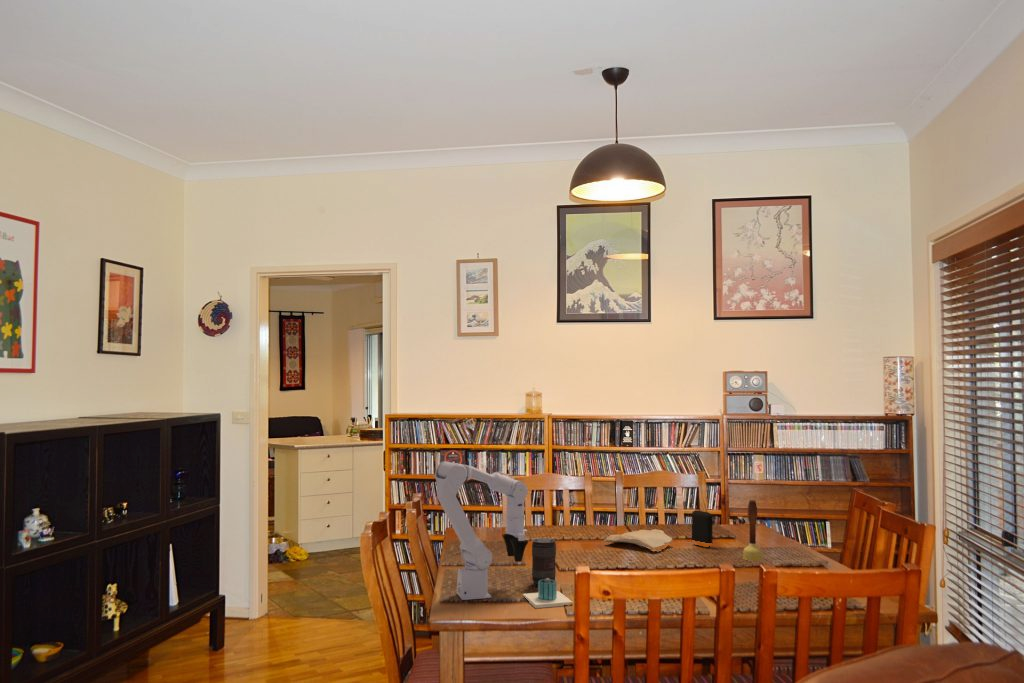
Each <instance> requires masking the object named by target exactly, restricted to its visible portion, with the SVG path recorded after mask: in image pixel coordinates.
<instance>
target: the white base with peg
mask: <svg viewBox="0 0 1024 683" xmlns="http://www.w3.org/2000/svg"><path fill="white" fill-rule="evenodd" d="M544 583H551V580H550V579H549V578H546V579H545V581H544ZM523 596H524V597H525V598H526V599H527V600H528V601H529V602H528V601H527V600H526V599H525V598H524V597H523ZM522 597H523V598H524V599H525V600H526V601H527V602H528V603H529V604H530V605H532V607H534V608H535V609H541V608H554V607H565V606H564V605H565V604H568V603H573V602H574V601H572V600H571V599H569V597H567V596H566V595H564V594H563V593H562V592H560V590H557V598H556V599H555V600H541V599H539V598H538V592H529V593H522ZM573 604H574V603H573Z"/></svg>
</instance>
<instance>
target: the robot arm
mask: <svg viewBox="0 0 1024 683" xmlns="http://www.w3.org/2000/svg"><path fill="white" fill-rule="evenodd" d="M435 469H436V470H435V472H434V478H435V480H436V481H435V482H436V498H437V501H438V502H439V504H440V506H441V508H442V509H443V511H444V513H445V516H446V517H447V519H448V522H449V523H450V524H451V525H450V526H451V527H452V529H453V531H454V532H455V534H456V536H457V538H458V540H459V542H460V544H459V550H460V552H461V554H460V555H461V559H462V560H463V562H464V567H462V568H458V569H457V576H456V578H457V579H456V580H457V583H456V594H457V595H458V597H459V598H460V599H461V601H462V600H463V601H466V600H480V599H481V600H482V599H492V595H491V594H490V593H489V592H488V591H489V590H488V589H489V588H488V578H489V577H488V576H489V574H488V573H489V566H490V565H491V564H492V561H493V554H492V551H491V550H490V549H488V548H487V547H486V545H485V544H484V543H483V542H482V540H480V539H479V537H478V536H477V535H476V533H475V531H474V528H473V527H472V525H471V523H470V520H469V519H468V517H467V516H466V513H465V511H464V509H463V508H462V506H461V503H460V501H459V500H458V498H457V494H458V493H459V490H460V489H461V488H462V486H463V484H465V482H466V481H469V480H471V479H473V480H476V481H479V482H482V483H484V484H487V487H488V489H489V490H491V491H494V492H497V493H499V494H503V495H505V496H506V526H505V533H502V535H501V536H502V538H503V540H504V541H503V542H504V544H505V548H506V553H507V556H508V557H513V559H514V562H516V563H517V562H522V561H523V557H524V552H525V550H526V548H527V545H528V543H529V540H528V539H526V533H528V529H526V528H525V526H524V524H525V502H526V497H527V495H528V493H529V489H528V487H527V485H526V483H525V482H524V481H521V480H516V479H515V477H514V476H507V475H504V473H505V472H502V471H496V472H495V471H494V472H493V473H491V474H490V473H488V472H486V471H484V470H482V469H478V468H477V467H475V466H472V465H469V464H468V465H467V464H462V463H456V462H451V461H448V460H445V461H441V462H440V463H439V464H437V467H436V468H435Z"/></svg>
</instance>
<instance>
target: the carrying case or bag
mask: <svg viewBox="0 0 1024 683" xmlns="http://www.w3.org/2000/svg"><path fill="white" fill-rule="evenodd" d="M714 525H715V520H714V518H713V515H712V514H711V513H710V512H709V511H702V510H699V509H698V510H695V509H694V510H693V511H692V513H691V541H692V540H695V541H700V542H705V543H712V544H713V526H714Z"/></svg>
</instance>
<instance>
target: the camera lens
mask: <svg viewBox="0 0 1024 683" xmlns="http://www.w3.org/2000/svg"><path fill="white" fill-rule="evenodd" d="M531 557H532V561H531V562H532V563H531V565H532V567H531V577H532V578H531V579H532V582H533V583H532V584H533V586H534V585H536V586H537V587H536V588H538V581H539V580H541V579H546V578H549V579H552V580H556V557H557V543H556V540H555V539H554V538H545V537H543V538H535V539H532V544H531Z"/></svg>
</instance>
